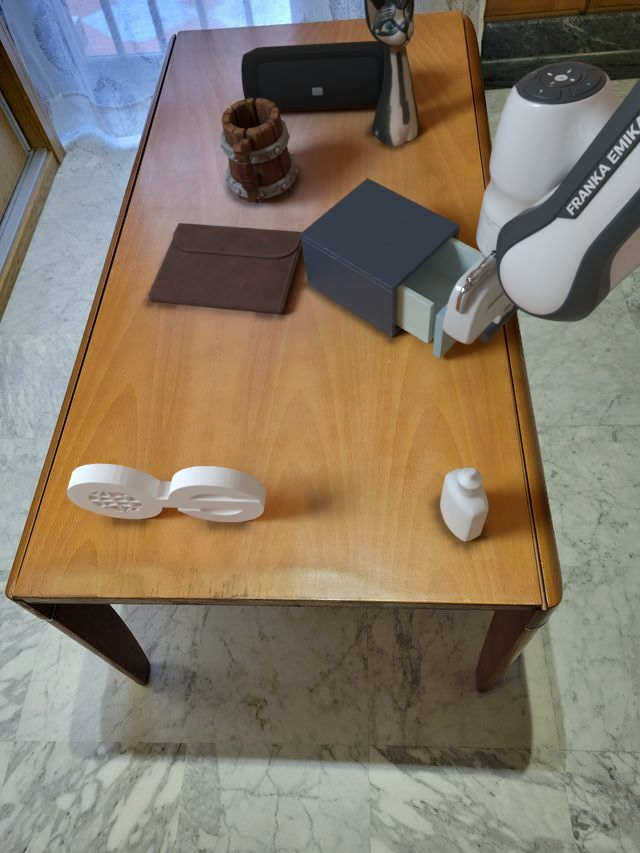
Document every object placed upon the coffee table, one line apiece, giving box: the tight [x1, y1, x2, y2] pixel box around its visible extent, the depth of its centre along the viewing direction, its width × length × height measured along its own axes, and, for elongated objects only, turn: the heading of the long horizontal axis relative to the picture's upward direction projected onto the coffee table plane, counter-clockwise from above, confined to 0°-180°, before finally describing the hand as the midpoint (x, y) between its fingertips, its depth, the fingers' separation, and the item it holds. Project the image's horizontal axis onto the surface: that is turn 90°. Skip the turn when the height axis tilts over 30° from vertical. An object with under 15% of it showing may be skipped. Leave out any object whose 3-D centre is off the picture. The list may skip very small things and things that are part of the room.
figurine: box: [363, 0, 420, 147], centre depth 96 cm, size 9×7×25 cm
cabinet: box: [300, 177, 461, 338], centre depth 86 cm, size 16×14×10 cm
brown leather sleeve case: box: [148, 222, 303, 315], centre depth 93 cm, size 15×20×2 cm
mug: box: [219, 98, 299, 204], centre depth 97 cm, size 12×14×15 cm
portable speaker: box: [240, 40, 385, 112], centre depth 108 cm, size 26×10×10 cm, turn 86°
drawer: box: [396, 237, 520, 359], centre depth 82 cm, size 19×12×8 cm, turn 47°
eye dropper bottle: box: [439, 466, 490, 542], centre depth 66 cm, size 4×6×12 cm
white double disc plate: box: [66, 463, 267, 523], centre depth 71 cm, size 22×2×10 cm, turn 86°
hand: (498, 314), depth 77 cm, fingers closed, pressing on drawer
